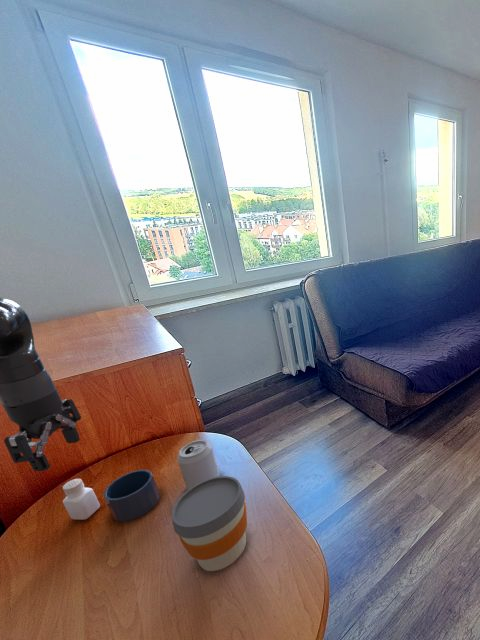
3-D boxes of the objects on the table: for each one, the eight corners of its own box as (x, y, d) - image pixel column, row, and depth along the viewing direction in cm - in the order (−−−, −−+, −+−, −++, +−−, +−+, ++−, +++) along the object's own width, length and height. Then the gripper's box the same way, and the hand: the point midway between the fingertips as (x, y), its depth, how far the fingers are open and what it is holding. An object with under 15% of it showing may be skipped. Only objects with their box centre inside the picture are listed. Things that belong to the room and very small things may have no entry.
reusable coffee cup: (262, 552, 72) (249, 502, 67) (194, 595, 65) (173, 542, 59) (246, 513, 81) (234, 465, 76) (185, 546, 73) (166, 496, 68)
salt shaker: (70, 520, 79) (54, 490, 76) (86, 505, 83) (72, 476, 80) (86, 521, 79) (71, 491, 76) (102, 506, 83) (88, 477, 79)
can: (192, 475, 92) (181, 440, 88) (223, 469, 94) (213, 435, 90) (183, 497, 85) (170, 461, 81) (216, 490, 87) (205, 454, 83)
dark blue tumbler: (128, 527, 78) (118, 505, 75) (105, 514, 81) (94, 492, 78) (168, 496, 86) (160, 475, 83) (145, 485, 89) (137, 465, 86)
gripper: (36, 378, 74) (64, 436, 80) (-30, 417, 61) (9, 483, 67) (76, 374, 76) (100, 432, 82) (19, 412, 63) (53, 477, 69)
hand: (59, 455), depth 74 cm, fingers open, 8 cm apart
